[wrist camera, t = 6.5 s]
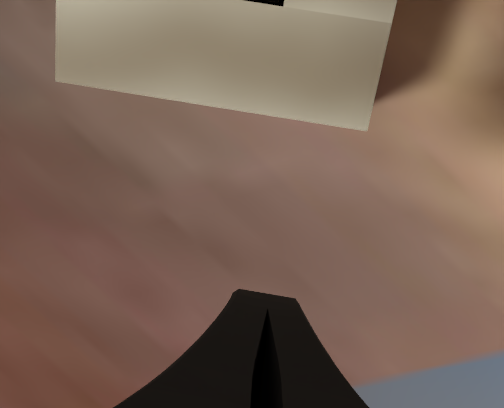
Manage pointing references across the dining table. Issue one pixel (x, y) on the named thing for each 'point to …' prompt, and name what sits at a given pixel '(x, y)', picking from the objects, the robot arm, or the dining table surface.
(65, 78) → the socket board
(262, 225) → the dining table surface
